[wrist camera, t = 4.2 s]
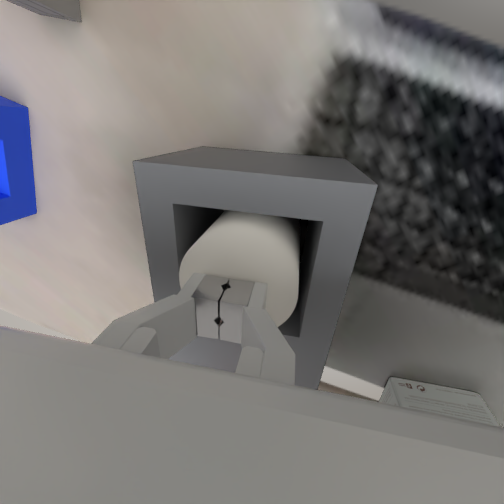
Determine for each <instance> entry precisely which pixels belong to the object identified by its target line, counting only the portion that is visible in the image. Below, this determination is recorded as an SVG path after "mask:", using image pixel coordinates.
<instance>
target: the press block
mask: <svg viewBox="0 0 504 504" xmlns="http://www.w3.org/2000/svg"><path fill="white" fill-rule="evenodd" d="M133 167H134V173H135V180H136V186H137V193H138V199H139V206H140V212H141V219H142V225H143V231H144V238H145V244H146V251H147V257H148V264H149V270H150V276H151V283H152V289H153V296H154V302H157V301H159V300H162V299H164V298H166V297H169V296H171V295H173V294H174V295H177V294H178V293H179V292H180V290H181V287H180V281H179V271H180V265H181V262H182V260H183V258H184V256H185V254H186V253H187V251H188V250H189V249H190V248H191V247H192V246H193V244H194V243H195V242H196V241H197V240H198V239H199V238H200V237H201V236H202V235H203V234H204V233H205V232H206V230H207V229H208V228H209V227H210V226H211V225H212V224H213V223H214V222H215V221H216V220H217V219H218V218H219V216H220V215H221V214H222V213H223V212H224V210H232V211H240V212H248V213H257V214H265V215H273V216H282V217H290V218H298V219H307V220H309V221H308V226H307V232H306V238H305V243H304V249H303V255H302V260H301V263H300V262H299V287H298V300H297V303H296V307H295V309H294V311H293V313H292V314H291V316H290V317H289V318H288V319H287V320H286V321H285V322H284V323H283V324H281V325H280V326H279V327H278V329H279V330H280V332H281V333H282V335H283V336H284V338H285V339H286V341H287V342H288V344H289V345H290V347H291V348H292V350H293V351H294V353H295V384H294V385H297V386H302V387H307V388H312V389H317V390H318V386H319V383H320V379H321V376H322V373H323V369H324V366H325V362H326V359H327V356H328V352H329V349H330V345H331V342H332V339H333V335H334V332H335V329H336V325H337V322H338V318H339V315H340V312H341V308H342V305H343V301H344V298H345V295H346V291H347V288H348V284H349V281H350V278H351V274H352V271H353V268H354V264H355V261H356V257H357V254H358V251H359V247H360V244H361V240H362V237H363V234H364V230H365V227H366V224H367V220H368V217H369V213H370V210H371V207H372V203H373V200H374V196H375V193H376V190H377V186H378V185H377V184H376V183H375V182H374V181H372V180H371V179H370V178H369V177H367V176H366V175H365V174H364V173H362V172H361V171H360V170H359V169H357V168H356V167H355V166H354V165H353V164H351V163H350V162H349V161H348V160H346V159H344V158H332V157H320V156H308V155H297V154H285V153H273V152H261V151H250V150H238V149H226V148H215V147H203V146H202V147H198V148H193V149H188V150H183V151H178V152H174V153H169V154H164V155H159V156H154V157H150V158H145V159H140V160H135V161H133ZM241 351H242V346H241V344H239V343H234V342H229V341H225V340H220V336H219V338H218V339H214V338H208V337H201V336H197V337H196V338H195V339H193V340H192V341H191V342H190V343H188V344H187V345H186V346H184V347H183V348H182V349H180V350H179V351H178V352H176V353H175V354H174V355H173V356H171V357H170V358H169V360H174V361H179V362H184V363H189V364H194V365H199V366H204V367H209V368H213V369H218V370H223V371H228V372H233V373H235V372H236V368H237V365H238V361H239V358H240V355H241Z"/></svg>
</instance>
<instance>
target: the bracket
mask: <svg viewBox="0 0 504 504" xmlns="http://www.w3.org/2000/svg"><path fill="white" fill-rule="evenodd" d="M36 213H37V209H36V197H35V185H34V173H33V161H32V150H31V138H30V126H29V114H28V107H25V106H23V105H21V104H18V103H16V102H14V101H11V100H9V99H7V98H4V97H2V96H0V225H2V224H5V223H8V222H11V221H14V220H17V219H20V218H24V217H27V216H30V215H33V214H36Z"/></svg>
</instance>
